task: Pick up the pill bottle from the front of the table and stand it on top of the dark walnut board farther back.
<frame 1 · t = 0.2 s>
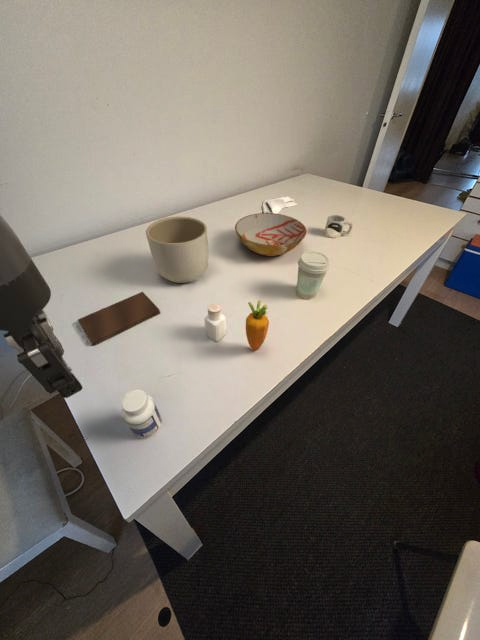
hand: (63, 370, 35), 20 cm above the table, tool pointing down, fingers open, 8 cm apart
pepper shaker: (216, 335, 67), on the table
mug: (336, 235, 106), on the table
bowl: (268, 248, 97), on the table
carrot: (254, 350, 63), on the table
pill bottle: (147, 425, 50), on the table
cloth: (275, 206, 126), on the table
board: (121, 318, 70), on the table
planter: (183, 274, 85), on the table
coffee cup: (306, 293, 79), on the table
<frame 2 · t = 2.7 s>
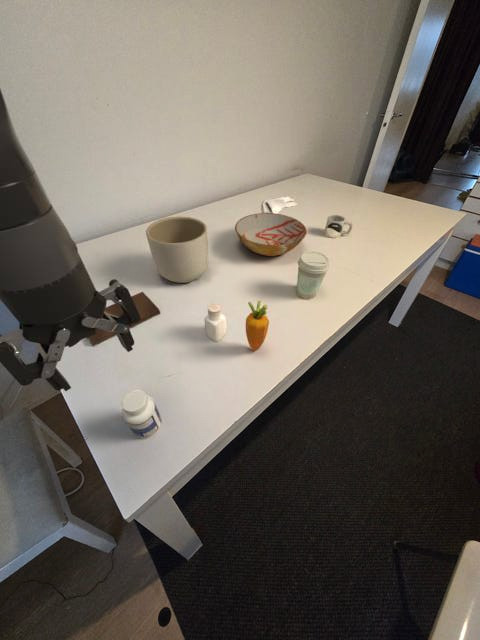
hand: (98, 365, 35), 20 cm above the table, tool pointing down, fingers open, 8 cm apart
nothing on the table moved.
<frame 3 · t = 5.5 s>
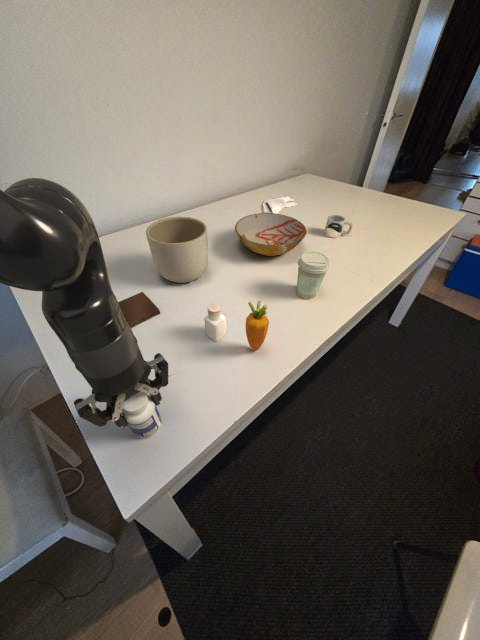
hand: (140, 411, 46), 5 cm above the table, tool pointing down, fingers closed on pill bottle, 5 cm apart
pill bottle: (147, 425, 50), on the table, touching gripper
everything else where it was.
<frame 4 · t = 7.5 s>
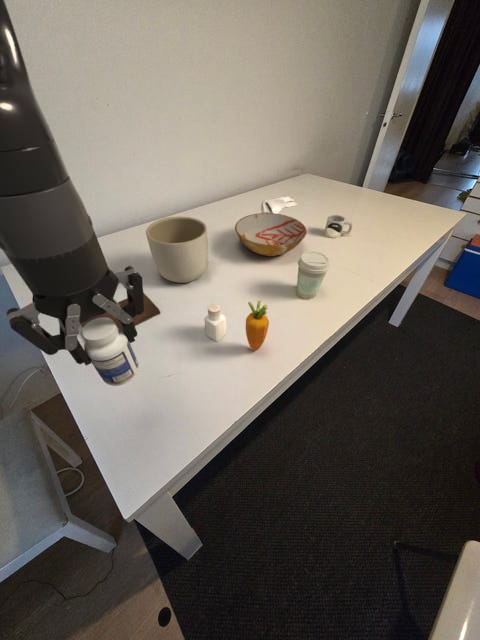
hand: (109, 348, 36), 21 cm above the table, tool pointing down, fingers closed on pill bottle, 5 cm apart
pill bottle: (121, 372, 40), point 15 cm above the table, touching gripper
everything else where it was.
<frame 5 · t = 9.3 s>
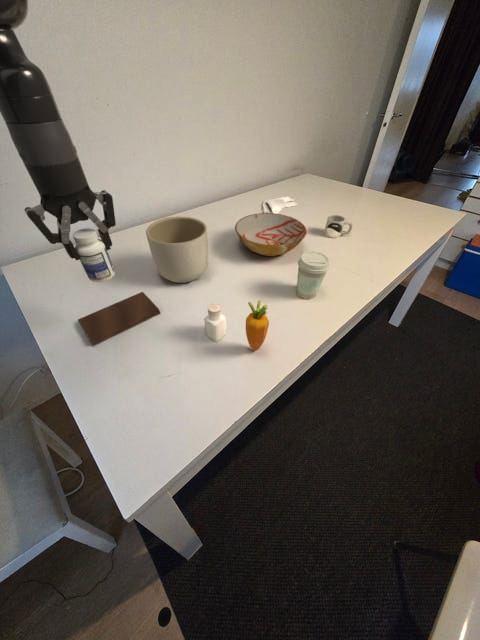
hand: (92, 252, 52), 22 cm above the table, tool pointing down, fingers closed on pill bottle, 5 cm apart
pill bottle: (102, 276, 56), point 16 cm above the table, touching gripper
everything else where it was.
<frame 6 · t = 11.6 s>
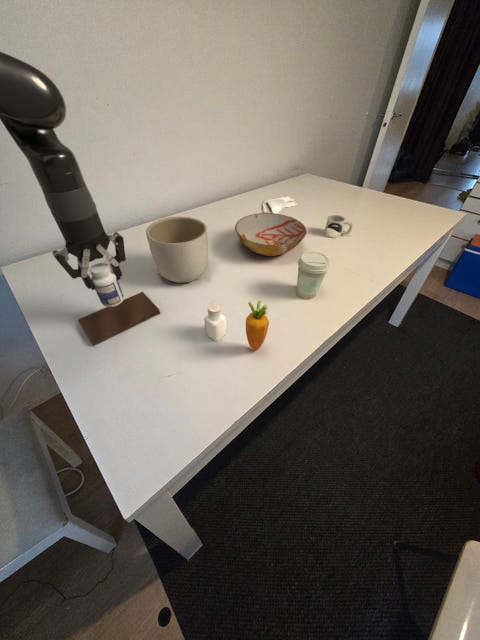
hand: (105, 282, 61), 12 cm above the table, tool pointing down, fingers closed on pill bottle, 5 cm apart
pill bottle: (113, 301, 65), point 6 cm above the table, touching gripper
everything else where it was.
when the fingers open (7 cm above the table, at t = 13.3 s): pill bottle stays where it is, point 1 cm above the table.
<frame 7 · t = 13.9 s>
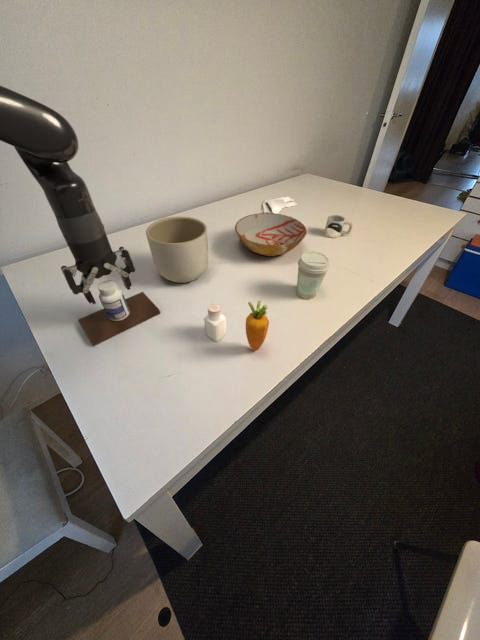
hand: (111, 295, 64), 8 cm above the table, tool pointing down, fingers open, 8 cm apart
pill bottle: (119, 315, 69), point 1 cm above the table
everything else where it was.
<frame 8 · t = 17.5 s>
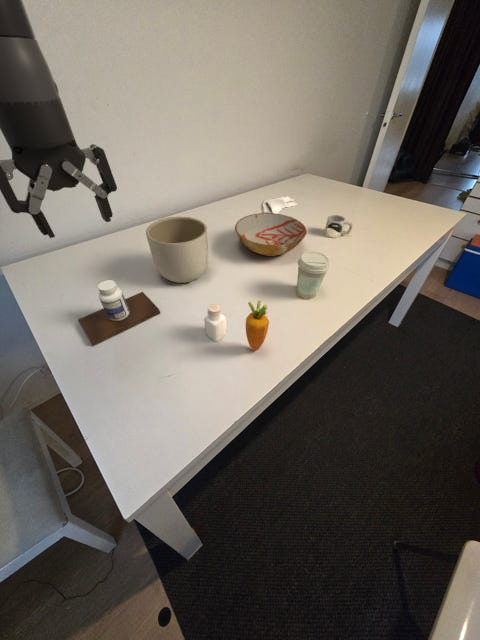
hand: (80, 227, 42), 30 cm above the table, tool pointing down, fingers open, 8 cm apart
pill bottle: (119, 315, 69), point 1 cm above the table, touching board
board: (121, 318, 70), on the table, touching pill bottle
everything else where it was.
at the end: pill bottle inside the target area on the board (0.1 cm from its centre), point 1.3 cm above the board's base; pill bottle tilted 0°; the gripper is holding nothing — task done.
